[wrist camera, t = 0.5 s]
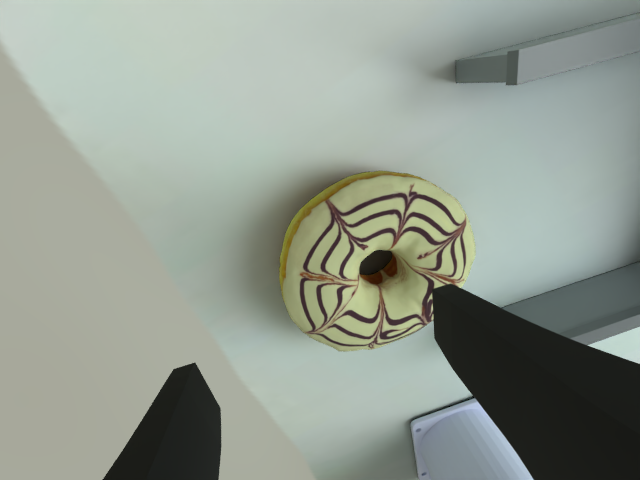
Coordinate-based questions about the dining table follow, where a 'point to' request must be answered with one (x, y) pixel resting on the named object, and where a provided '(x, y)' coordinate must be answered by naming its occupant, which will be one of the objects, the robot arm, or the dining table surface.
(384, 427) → the dining table surface
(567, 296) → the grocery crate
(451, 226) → the decorated donut
